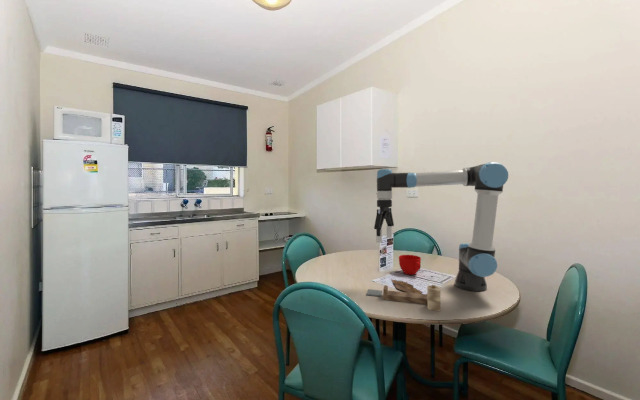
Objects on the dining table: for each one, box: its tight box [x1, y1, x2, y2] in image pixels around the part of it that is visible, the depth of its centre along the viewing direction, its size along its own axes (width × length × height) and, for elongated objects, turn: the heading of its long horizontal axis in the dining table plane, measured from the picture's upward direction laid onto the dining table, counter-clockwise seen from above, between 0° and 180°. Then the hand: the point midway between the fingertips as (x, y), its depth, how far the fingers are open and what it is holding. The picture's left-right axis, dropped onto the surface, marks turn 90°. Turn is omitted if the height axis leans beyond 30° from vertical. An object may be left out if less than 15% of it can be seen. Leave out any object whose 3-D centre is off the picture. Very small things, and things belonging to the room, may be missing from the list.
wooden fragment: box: [391, 279, 423, 294], centre depth 154 cm, size 26×11×1 cm, turn 10°
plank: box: [382, 285, 427, 305], centre depth 136 cm, size 24×6×5 cm, turn 73°
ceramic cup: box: [398, 254, 422, 276], centre depth 176 cm, size 13×17×10 cm
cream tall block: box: [426, 284, 442, 312], centre depth 127 cm, size 5×5×10 cm
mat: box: [365, 288, 383, 298], centre depth 144 cm, size 7×7×1 cm
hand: (384, 240), depth 149 cm, fingers open, 13 cm apart
